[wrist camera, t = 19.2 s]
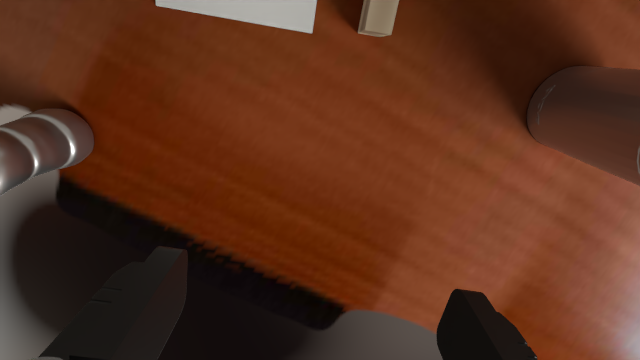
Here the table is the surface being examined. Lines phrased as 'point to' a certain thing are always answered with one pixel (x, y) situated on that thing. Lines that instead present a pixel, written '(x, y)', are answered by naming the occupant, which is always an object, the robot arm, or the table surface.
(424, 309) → the table surface
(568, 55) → the table surface
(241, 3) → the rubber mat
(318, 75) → the table surface
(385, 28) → the scraper
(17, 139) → the plastic bottle
